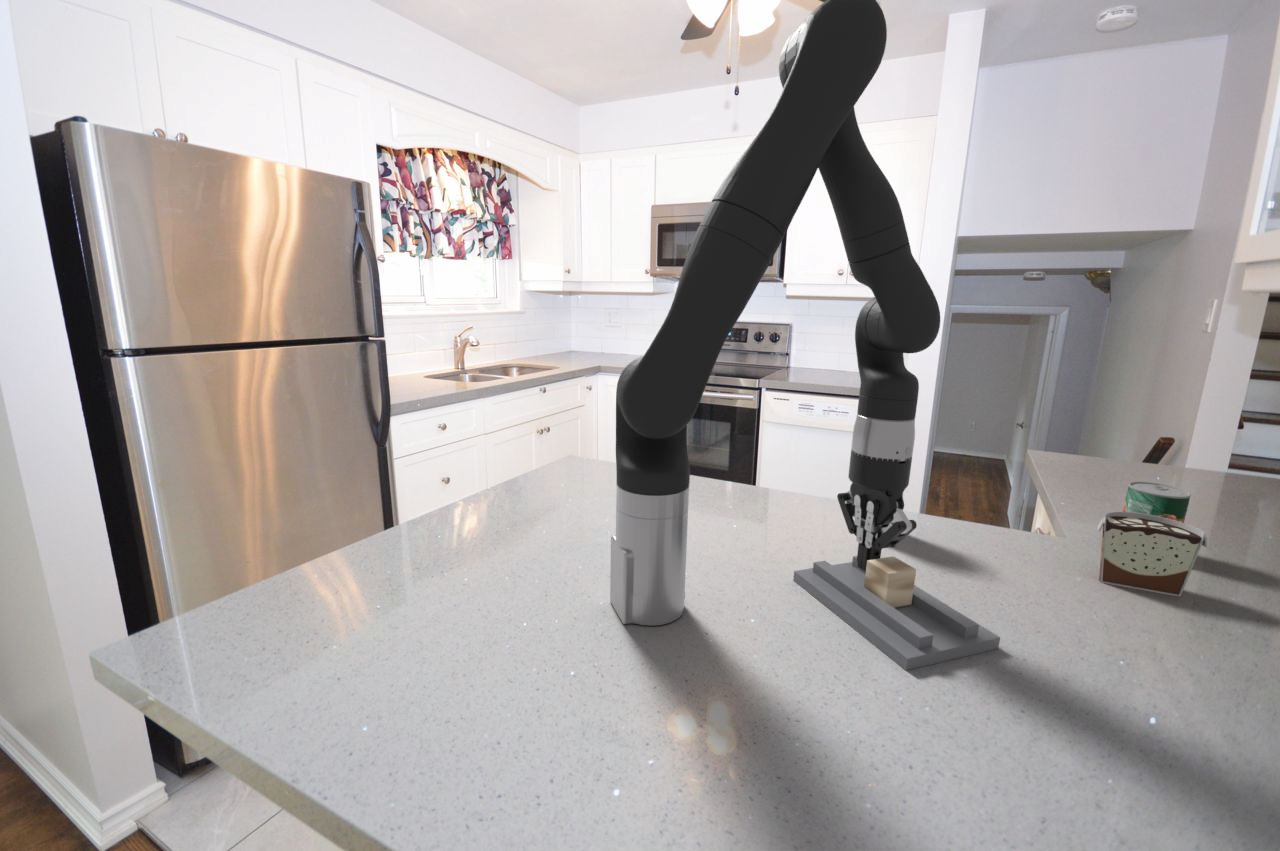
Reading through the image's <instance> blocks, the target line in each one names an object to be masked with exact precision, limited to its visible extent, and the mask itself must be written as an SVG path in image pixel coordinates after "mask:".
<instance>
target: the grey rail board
mask: <svg viewBox="0 0 1280 851" xmlns="http://www.w3.org/2000/svg"><path fill="white" fill-rule="evenodd" d="M865 574H866V572H864V571H863V570H861V569H860V568H858V563H857V555H854V556H852V561H851V562H849V561H848V562H845V563H837V564H831V563H829V562H828V561H826V560H821V561H820V560H819V561H815V562H814V561H813V564H812V567H811V568H806V569H799V570H798V569H797V570H794V571H793V581H794V582H795V583H796V584H797V585H798V586H800V587H801V588H802V589H803V590H805V591H806V592H807V593H808V594H810V595H811V596H812V597H813V598H815V599H816V600H817V601H818V602H820V603H821V605H823V606H824V607H826V608H828V610H829V611H831V612H832V613H833V614H835V615H836V616H837V617H838V618H840V619H841V620H842V621H844V623H846V624H847V625H848V626H849V627H851V628H852V629H854V630H855V631H856V632H857V633H858V634H860V635H861V636H862V637H864V638H865V639H866V640H867V641H868V642H870V643H871V644H873V646H875V647H876V648H877V649H878V650H879V651H881V652H882V653H884V655H886V656H887V657H888V658H890V659H891V660H892V661H893V662H894V663H896V664H897V665H898V666H900V667H901V668H902V669H903V670H905V671H909V670H914V669H918V668H922V667H926V666H927V667H928V666H930V665H934V664H939V663H943V662H947V661H951V660H955V659H960V658H964V657H968V656H969V657H970V656H972V655H977V654H981V653H985V652H989V651H993V650H997V649H999V648H1000V641H1001V637H1000V636H999V635H997V634H996V633H995V632H992V631H991V630H989V629H987V628H986V627H984V626H982V625H981V624H979V622H976V621H974V620H973V619H971V618H969V617H968V616H966V615H965V614H962V613H961V612H959V611H958V610H956V609H955V608H953V607H951V606H949V605H948V604H947V603H945V602H943V601H942V600H940V599H938V598H937V597H935V596H934V595H932V594H930V593H929V592H927V591H925V590H923V589H922V588H920V587H919V586H917V585H915V584H914V590H913V597H912V604H911V605H906V606H901V607H895V608H894V607H892V606H891V605H889V604H888V603H886V602H885V601H883V600H882V599H880V598H879V597H877V596H876V595H875V594H873V593H872V592H870V591H869V590H867V589H866V588H864V583H865Z"/></svg>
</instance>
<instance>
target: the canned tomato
mask: <svg viewBox="0 0 1280 851" xmlns="http://www.w3.org/2000/svg"><path fill="white" fill-rule="evenodd" d="M1191 497H1192V494H1191V493H1190V492H1189V491H1188V490H1185V489H1182V488H1180V487H1177V486H1176V487H1175V486H1172V485H1168V484H1163V483H1159V482H1157V483H1156V482H1152V481H1151V482H1149V481H1131V482H1129V483H1128V487H1127V492H1126V497H1125V501H1124V505H1123V510H1122V512H1134V513H1142V514H1149V515H1154V516H1159V517H1164V518H1168V519H1172V520H1175V521H1179V522H1182V523H1185V520H1186V516H1187V512H1188V507H1189V503H1190V498H1191Z"/></svg>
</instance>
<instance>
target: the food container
mask: <svg viewBox="0 0 1280 851" xmlns="http://www.w3.org/2000/svg"><path fill="white" fill-rule="evenodd" d="M1101 529H1102V536H1101V548H1100V551H1101V552H1100V564H1099V577H1098V578H1099V579H1098V580H1099V583H1102V584H1106V585H1107V584H1108V585H1112V586H1118V587H1124V588H1128V589H1129V588H1130V589H1134V590H1140V591H1145V592H1151V593H1156V594H1163V595H1168V596H1174V597H1180V598H1181V597H1182V595H1183V592H1184V589H1185V587H1186V584H1187V582H1188V580H1189V577H1190V575H1191V572H1192V570H1193V568H1194V564H1195V562H1196V560H1197V557H1198V555H1199V552H1200V550H1201V547H1202V546H1203V547H1205V548H1208V538H1207V536H1206V532H1205V531H1204V530H1202V529H1200V528H1198V527H1195V526H1193V525H1190V524H1188V523H1185V522H1184V523H1182V522H1179V521H1175V520H1172V519H1168V518H1164V517H1159V516H1154V515H1149V514H1142V513H1134V512H1123V511H1112V512H1107V513H1105V514H1104V516H1103V517H1102V518H1101V519H1100V521H1099V522H1098V525H1097V531H1098V532H1100V531H1101Z"/></svg>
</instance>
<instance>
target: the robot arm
mask: <svg viewBox="0 0 1280 851" xmlns="http://www.w3.org/2000/svg"><path fill="white" fill-rule="evenodd" d="M887 30H888V28H887V22H886V18H885V14H884V11H883V9H882V7H881V6H880V3H879V2H877V0H825V1H823V2H822V3H821V4H819V6H817V7H816V8H815V9H813V10H812V12H811V13H810V14H809V15H808V16H807V17H806V18H805V19H804V20H803V21H802V22H801V23H800V24H799V25H798V26H797V28H796V29H795V30H794V31H793V32H792V33H791V34H790V36H789V37H788V38H787V39H786V42H785V43H784V46H783V47H782V50H781V51H780V52H781V53H780V57H779V62H778V73H779V74H778V75H779V81H780V83H781V87H782V90H781V92H780V95H779V97H778V99H777V101H776V103H775V105H774V107H773V108H772V110H771V112H770V114H769V116H768V117H767V119H766V120H765V121H764V123H763V125H762V126H761V128H760V129H759V130H758V132H757V133H756V134H755V136H754V137H753V139H752V140H751V141H750V143H749V144H748V145H747V147H745V149H744V151H743V152H742V154H741V155H740V156H739V158H738V159H737V160H736V162H735V163H734V165H732V167H731V169H730V171H729V172H728V174H727V175H726V176H725V178H724V179H723V181H722V183H721V184H720V186H719V187H718V189H717V191H716V193H715V194H714V196H713V198H712V200H711V202H710V204H709V206H708V207H707V210H706V211H705V214H704V216H703V217H702V220H701V222H700V224H699V226H698V227H697V230H696V231H695V234H694V236H693V238H692V241H691V244H690V246H689V249H688V252H687V255H686V256H685V257H686V258H685V260H684V262H683V266H682V270H681V273H680V277H679V280H678V284H677V287H676V291H675V294H674V297H673V301H672V303H671V306H670V308H669V310H668V313H667V314H666V317H665V319H664V321H663V322H662V325H661V327H660V328H659V329H658V331H657V333H656V335H655V337H654V338H653V340H652V341H651V344H650V345H649V347H648V348H647V350H646V352H645V353H644V354H643V355H642V356H640V357H637V358H635V359H633V360H631V362H629V363H628V364H627V365H626V366H625V367H624V368H623V370H622V372H621V373H620V375H619V376H618V380H617V384H616V391H615V392H616V394H615V462H616V463H615V466H616V467H615V468H616V469H615V470H616V490H615V492H616V495H615V496H616V499H615V500H616V501H615V502H616V504H615V534H613V535H611V536H610V580H609V581H610V583H609V586H610V589H609V590H610V592H609V594H610V596H609V603H610V604H611V605H612V607H613V608H614V611H615V612H616V614H617V616H618V618H619V620H620V621H621V623H622V624H624V625H627V624H637V625H641V626H661V625H666V624H670V623H673V622H675V621H676V620H678V619H679V618H680V617H682V615H683V614H684V610H685V598H686V570H687V568H686V567H687V549H688V547H687V546H688V545H687V544H688V526H689V525H688V520H689V503H690V502H689V501H690V500H689V498H690V497H689V496H690V483H691V482H690V480H691V479H690V478H691V466H690V459H689V453H688V440H687V439H688V436H687V435H688V424H689V423H690V422H691V420H692V419H693V417H694V415H695V414H696V412H697V409H698V407H699V405H700V402H701V400H702V396H703V394H704V392H705V390H706V387H707V384H708V382H709V380H710V376H711V375H712V372H713V369H714V367H715V365H716V363H717V360H718V358H719V356H720V353H721V350H722V348H723V346H724V344H725V342H726V340H727V339H728V336H729V335H730V333H731V331H732V329H733V328H734V326H735V325H736V323H737V322H738V320H739V318H740V317H741V315H742V314H743V312H744V310H745V308H746V307H747V305H748V303H749V301H750V299H751V297H752V296H753V294H754V292H755V291H756V289H757V287H758V285H759V283H760V282H761V280H762V278H763V276H764V274H765V273H766V272H767V270H768V268H769V266H770V264H771V262H772V260H773V259H774V257H775V255H776V253H777V251H778V250H779V247H780V245H781V244H782V241H783V239H784V238H785V236H786V234H787V232H788V229H789V227H790V225H791V222H792V221H793V219H794V217H795V215H796V213H797V211H798V209H799V207H800V205H801V203H802V202H803V199H804V197H805V195H806V193H807V192H808V190H809V187H810V185H811V183H812V181H813V180H814V177H815V175H816V173H817V171H818V170H819V173H820V176H821V178H822V180H823V183H824V186H825V189H826V191H827V194H828V196H829V200H830V202H831V206H832V208H833V212H834V216H835V218H836V221H837V224H838V228H839V229H838V230H839V231H840V232H839V233H840V235H841V240H842V243H843V247H844V250H845V254H846V258H847V262H848V265H849V268H850V271H851V274H852V276H853V278H854V279H855V281H856V282H858V283H860V284H862V285H864V286H866V287H868V289H870V290H871V292H872V294H873V297H872V298H871V299H869V300H868V301H867V302H865V304H864V305H863V306H862V308H861V309H860V311H859V313H858V315H857V316H858V317H857V318H856V319H857V320H856V323H855V330H854V339H855V340H854V341H855V342H854V343H855V350H856V351H855V352H856V359H857V367H858V372H859V377H860V388H859V394H858V405H857V412H856V417H855V418H856V419H855V422H854V426H853V432H852V439H851V448H850V458H849V467H848V479H849V481H850V482H851V484H850V488H849V491H846V492H841V493H838V494H837V497H836V498H837V501H838V504H839V507H840V509H841V512H842V516H843V518H844V521H845V524H846V526H847V530H848V533H849V534H851V535H854V536H856V542H857V543H858V548H857V555H856V556H857V563H858V568H860V569H861V570H863V571H864V572H866V566H867V560H873V559H879V558H882V557H881V555H882V549H887V548H891V549H892V548H894V547H896V546H897V545H898V544H900V543H901V542H902V541H903V540H904V539H905V538H906V537H908V536H909V535H910V534H911V533H912V532H914V530H916V528H917V526H918V525H917V521H915V520H914V519H909V518H908V517H907V514H906V513H905V512H904V508H905V501H904V491H906V490H907V487H908V486H909V485H910V484H909V482H910V476H911V468H912V461H913V454H914V446H915V445H914V444H915V439H916V438H915V437H916V427H915V426H916V415H917V414H916V413H917V406H918V399H919V391H920V388H919V387H920V386H919V385H920V384H919V379H918V378H917V376H916V375H915V374H914V373H912V372H910V370H908V369H907V368H906V366H905V359H904V354H916V353H921V352H923V351H925V350H926V349H927V348H929V347H930V346H931V345H933V343H934V342H935V340H936V338H937V337H938V335H939V331H940V327H941V312H940V306H939V304H938V303H939V302H938V301H937V298H936V295H935V293H934V291H933V289H932V288H931V286H930V283H929V282H928V280H927V278H926V276H925V275H924V272H923V270H922V268H921V267H920V265H919V263H918V262H917V260H916V259H915V257H914V256H913V253H912V249H911V245H910V242H909V241H910V240H909V237H908V236H909V235H908V231H907V227H906V223H905V219H904V215H903V211H902V208H901V205H900V202H899V200H898V197H897V195H896V193H895V191H894V189H893V186H892V185H891V184H890V181H889V180H888V179H887V177H886V175H885V174H884V172H883V170H882V169H881V168H880V166H879V165H878V163H877V162H876V159H875V158H874V157H873V156H872V154H871V153H870V151H869V148H868V147H867V145H866V143H865V141H864V138H863V136H862V134H861V131H860V127H859V124H858V121H857V116H856V111H855V105H856V104H857V102H858V101H859V100H860V97H861V96H862V95H863V93H864V92H865V90H866V89H867V87H868V86H869V84H870V83H871V81H872V80H873V78H874V76H875V74H876V73H877V72H878V69H879V68H880V66H881V63H882V60H883V57H884V54H885V51H886V44H887V37H888V33H887V32H888V31H887ZM877 533H878V534H877Z"/></svg>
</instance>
